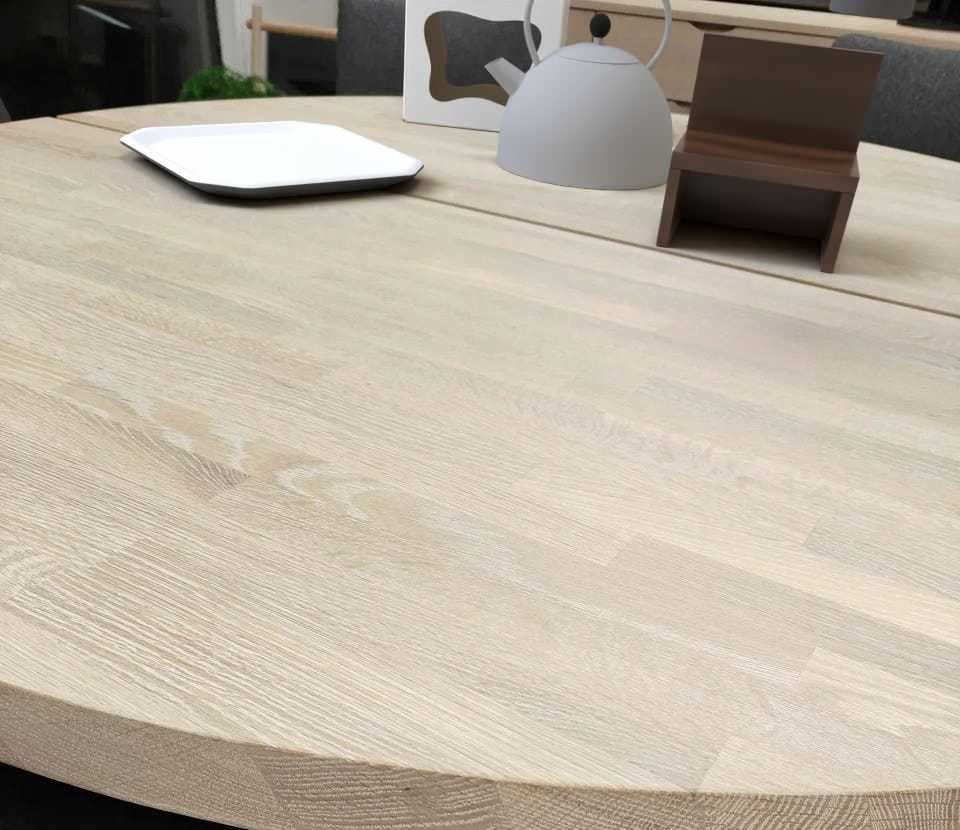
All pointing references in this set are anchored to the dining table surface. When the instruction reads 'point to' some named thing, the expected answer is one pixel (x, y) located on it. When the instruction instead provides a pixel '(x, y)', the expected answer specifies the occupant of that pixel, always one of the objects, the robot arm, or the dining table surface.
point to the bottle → (874, 8)
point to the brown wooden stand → (772, 139)
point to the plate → (272, 158)
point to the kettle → (586, 114)
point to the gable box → (428, 57)
